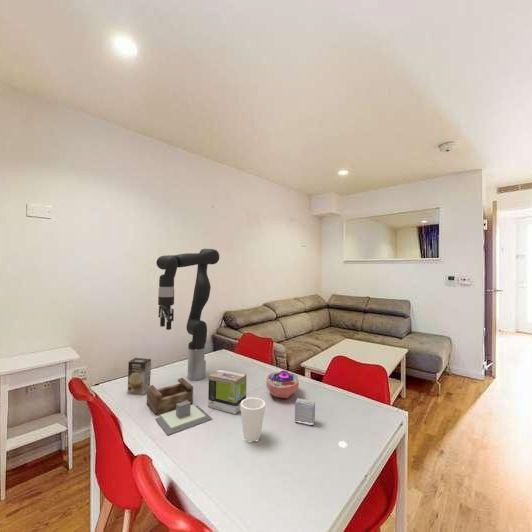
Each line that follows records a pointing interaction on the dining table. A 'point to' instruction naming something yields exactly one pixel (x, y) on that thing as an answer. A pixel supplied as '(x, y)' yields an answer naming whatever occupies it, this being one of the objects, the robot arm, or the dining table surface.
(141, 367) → the coffee box
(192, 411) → the cover plate
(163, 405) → the walnut box
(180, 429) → the rubber mat
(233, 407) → the tea box
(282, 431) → the dining table surface
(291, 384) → the cell model
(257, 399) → the foam cup
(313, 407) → the medicine box
